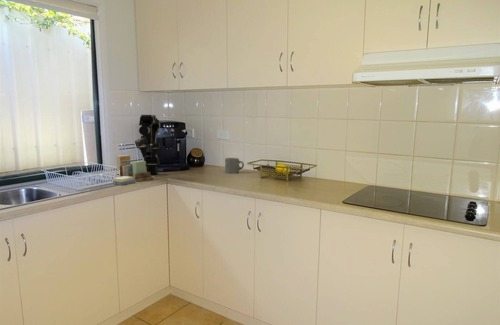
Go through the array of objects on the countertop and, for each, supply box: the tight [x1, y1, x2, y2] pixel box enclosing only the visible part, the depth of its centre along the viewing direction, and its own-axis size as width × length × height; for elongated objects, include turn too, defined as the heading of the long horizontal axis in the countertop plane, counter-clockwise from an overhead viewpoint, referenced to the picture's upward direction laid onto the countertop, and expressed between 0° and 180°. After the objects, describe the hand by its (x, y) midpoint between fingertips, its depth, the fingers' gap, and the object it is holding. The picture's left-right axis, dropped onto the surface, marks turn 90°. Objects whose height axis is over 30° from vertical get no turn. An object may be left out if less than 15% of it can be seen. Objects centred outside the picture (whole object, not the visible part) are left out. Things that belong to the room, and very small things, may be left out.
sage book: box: [131, 160, 147, 178], centre depth 219 cm, size 7×4×10 cm, turn 142°
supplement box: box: [115, 154, 131, 172], centre depth 237 cm, size 8×5×13 cm, turn 143°
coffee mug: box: [224, 157, 245, 175], centre depth 246 cm, size 13×10×10 cm
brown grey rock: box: [119, 164, 154, 183], centre depth 222 cm, size 11×20×8 cm, turn 52°
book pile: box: [112, 176, 136, 186], centre depth 208 cm, size 11×9×3 cm
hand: (148, 158), depth 224 cm, fingers open, 9 cm apart
